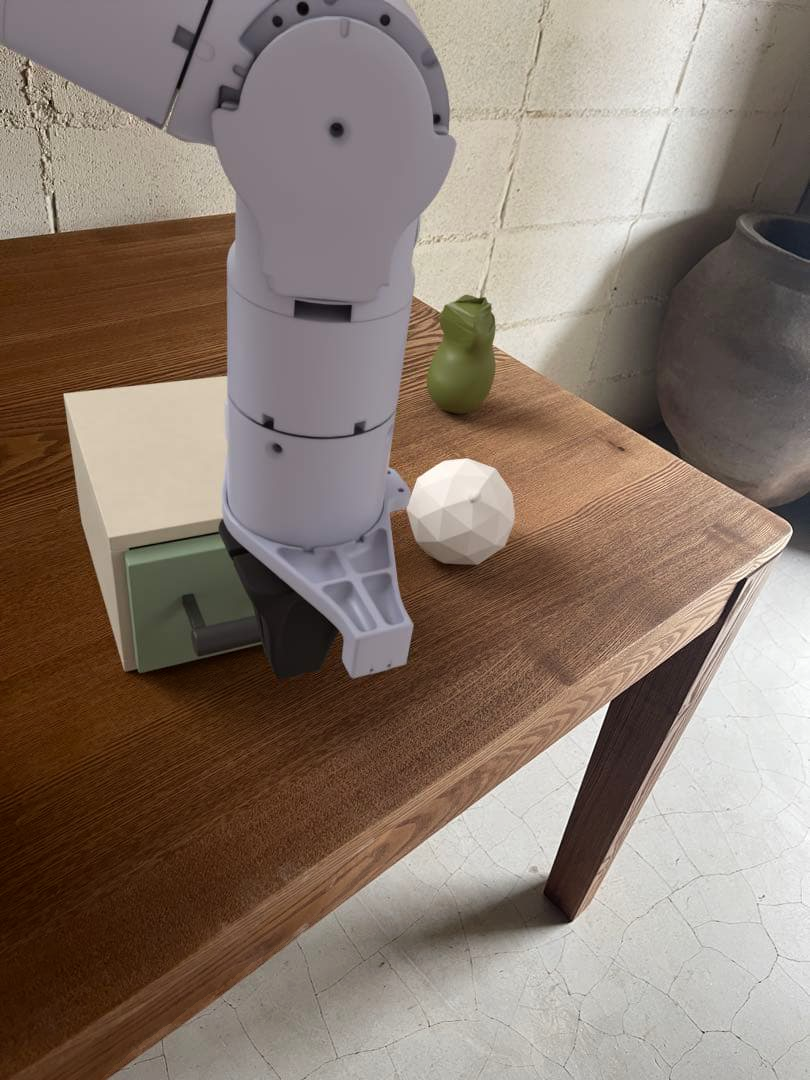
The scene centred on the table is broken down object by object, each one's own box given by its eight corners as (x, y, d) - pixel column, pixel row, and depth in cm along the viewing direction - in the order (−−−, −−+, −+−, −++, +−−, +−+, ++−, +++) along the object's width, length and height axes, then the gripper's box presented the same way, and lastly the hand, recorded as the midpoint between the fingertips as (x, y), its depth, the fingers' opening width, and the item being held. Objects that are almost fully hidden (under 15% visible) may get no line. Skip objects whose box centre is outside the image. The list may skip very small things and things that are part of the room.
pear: (497, 414, 74) (522, 306, 68) (454, 431, 71) (476, 320, 65) (452, 385, 77) (472, 279, 71) (409, 401, 74) (426, 291, 68)
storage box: (323, 625, 53) (335, 498, 46) (124, 672, 48) (108, 537, 42) (254, 493, 62) (256, 372, 55) (81, 522, 57) (63, 393, 51)
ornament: (519, 537, 62) (554, 510, 54) (436, 594, 60) (460, 574, 52) (463, 458, 62) (490, 419, 54) (379, 511, 60) (394, 479, 53)
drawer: (346, 678, 48) (360, 574, 43) (155, 729, 44) (146, 620, 39) (256, 504, 59) (258, 405, 54) (96, 531, 55) (82, 427, 50)
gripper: (524, 499, 26) (450, 769, 34) (342, 291, 35) (320, 543, 44) (301, 543, 23) (282, 824, 32) (169, 304, 32) (182, 570, 41)
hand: (294, 663), depth 38 cm, fingers closed
